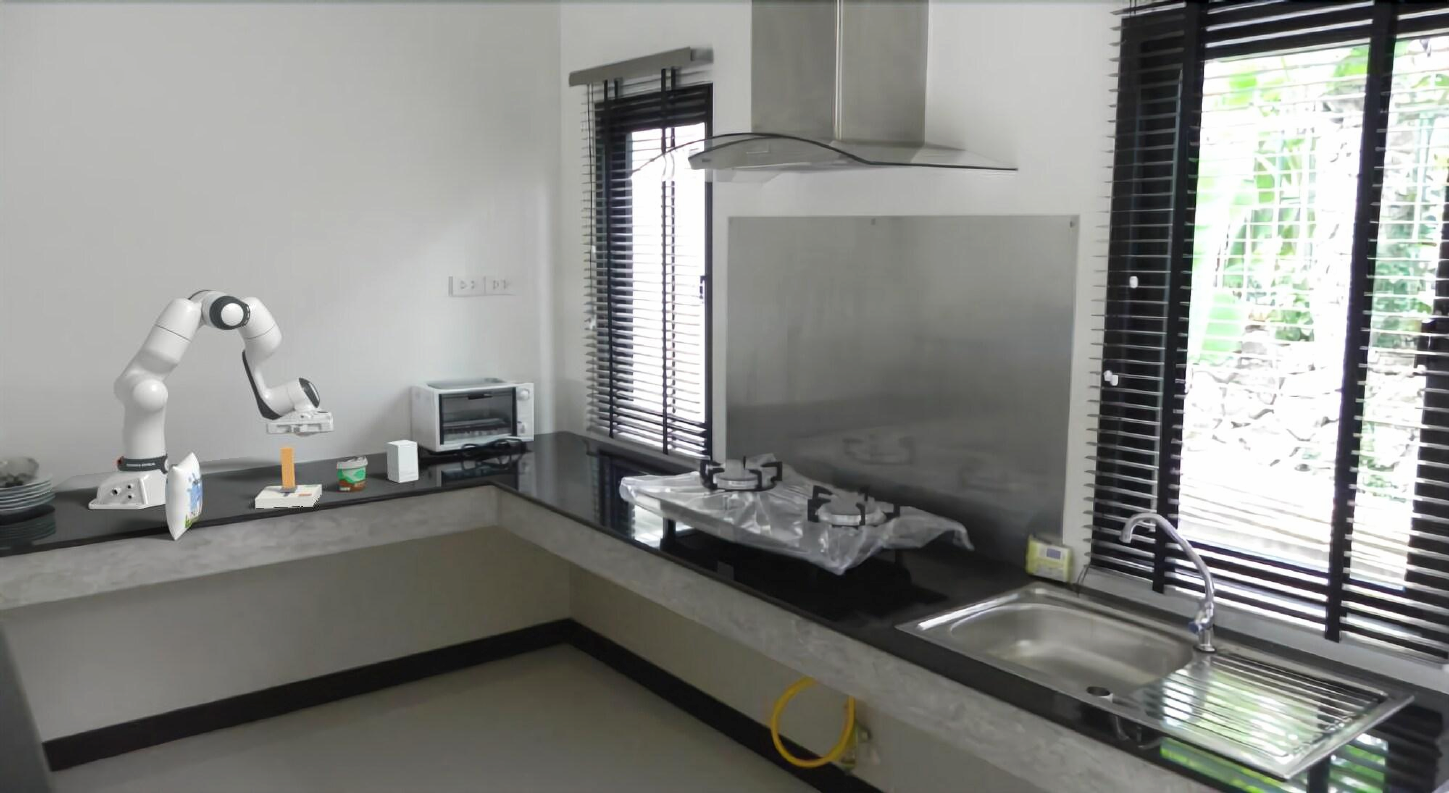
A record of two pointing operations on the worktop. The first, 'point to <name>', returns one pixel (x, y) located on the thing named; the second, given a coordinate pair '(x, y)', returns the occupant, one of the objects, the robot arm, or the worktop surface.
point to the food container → (352, 474)
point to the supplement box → (402, 461)
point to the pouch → (183, 495)
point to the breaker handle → (288, 470)
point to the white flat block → (288, 497)
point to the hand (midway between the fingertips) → (296, 430)
